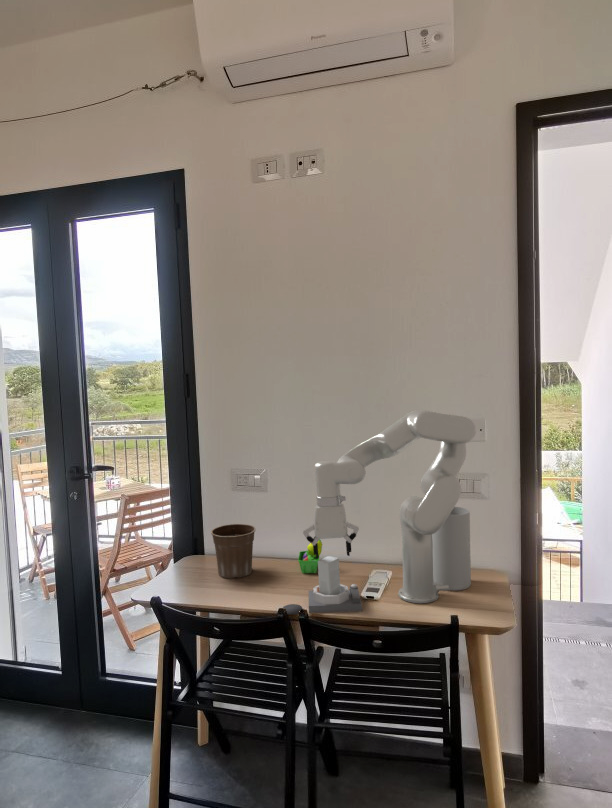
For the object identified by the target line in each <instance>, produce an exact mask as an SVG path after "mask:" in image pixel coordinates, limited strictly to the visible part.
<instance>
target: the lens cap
mask: <svg viewBox="0 0 612 808" xmlns="http://www.w3.org/2000/svg"><path fill="white" fill-rule="evenodd" d="M282 608H285V609H286V611H287V614H286V615H298V614H300V613H299V611H300V610H301V609H302V610H303V606H302V605H300V604H295V603H290V604H286V605H284V606H283V607H282Z"/></svg>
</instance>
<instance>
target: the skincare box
mask: <svg viewBox="0 0 612 808" xmlns="http://www.w3.org/2000/svg"><path fill="white" fill-rule="evenodd" d="M317 573H318V585H319V593H321V594H324V595H338V594H340V584H341V578H340V577H341V575H340V558H339V557H336V556H330V555H327V556H325V557H323V558H321V559H319V561H318V566H317Z"/></svg>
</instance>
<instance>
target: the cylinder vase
mask: <svg viewBox="0 0 612 808" xmlns="http://www.w3.org/2000/svg"><path fill="white" fill-rule="evenodd" d="M470 513H471V511H470V509H468V508H466V507H461V506H455V507H454V508H453V510H452V511H451V513H450V514H449V516H448V518H447V519H446V521H445V522H444V524H443V525H442V526H441V528H440V529H439V530H438V531H437V532H435V533H434V534H432V541H433V581H434V582H435V583H443V585H448V586H449V591H464V590H467V589H469V588H470V586H471V585H472V575H471V574H472V571H471V569H472V568H471V566H472V565H471V564H472V563H471V562H472V561H471V520H470V519H471V517H470V516H471V514H470Z"/></svg>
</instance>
